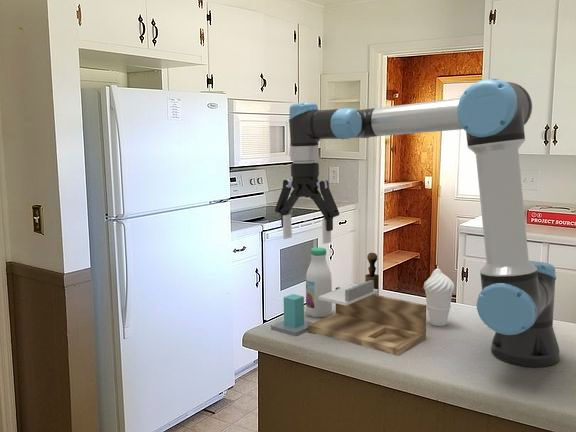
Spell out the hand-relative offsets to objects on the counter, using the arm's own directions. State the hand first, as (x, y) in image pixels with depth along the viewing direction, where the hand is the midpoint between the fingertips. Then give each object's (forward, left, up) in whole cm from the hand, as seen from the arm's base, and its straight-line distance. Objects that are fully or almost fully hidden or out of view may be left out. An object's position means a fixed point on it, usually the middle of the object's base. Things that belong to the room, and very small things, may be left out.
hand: (306, 240), depth 155 cm
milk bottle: (+5, -12, -25) cm, 28 cm away
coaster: (+3, +2, -25) cm, 25 cm away
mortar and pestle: (-6, -24, -25) cm, 35 cm away
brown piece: (-16, -5, -25) cm, 30 cm away
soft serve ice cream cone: (-27, -25, -25) cm, 44 cm away
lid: (-10, -5, -22) cm, 25 cm away
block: (+3, +2, -24) cm, 24 cm away
